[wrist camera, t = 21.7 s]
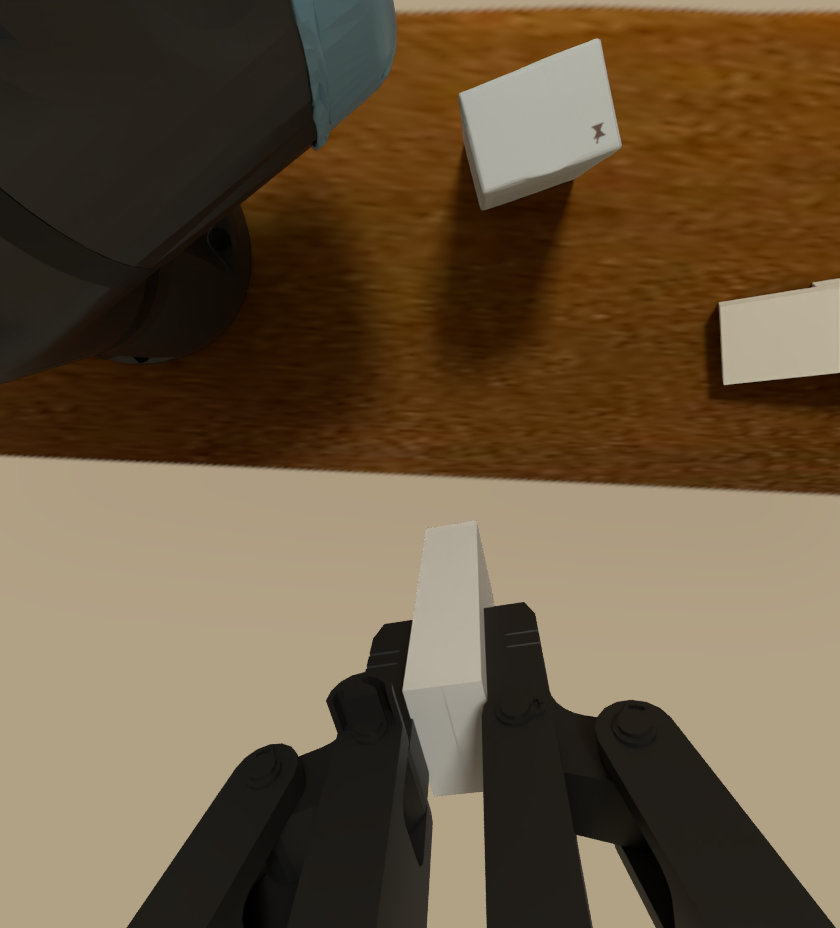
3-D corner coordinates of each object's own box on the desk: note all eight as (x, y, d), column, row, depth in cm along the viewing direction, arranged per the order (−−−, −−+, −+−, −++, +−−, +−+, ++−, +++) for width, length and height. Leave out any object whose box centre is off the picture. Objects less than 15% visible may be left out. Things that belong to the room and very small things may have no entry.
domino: (723, 385, 37) (922, 364, 33) (719, 306, 35) (928, 273, 31) (722, 378, 38) (912, 357, 34) (718, 302, 37) (918, 270, 32)
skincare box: (559, 102, 33) (605, 32, 22) (575, 179, 35) (626, 150, 24) (459, 139, 35) (455, 90, 23) (478, 213, 36) (483, 200, 25)
